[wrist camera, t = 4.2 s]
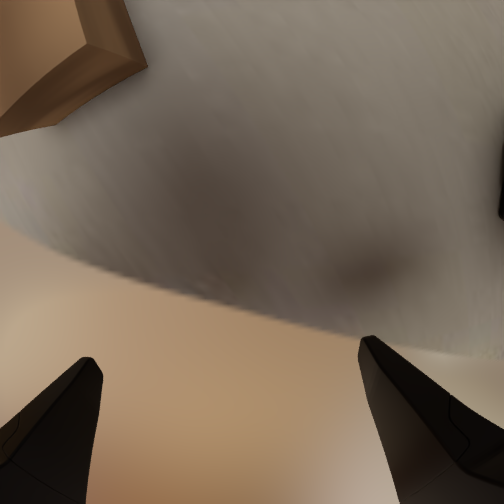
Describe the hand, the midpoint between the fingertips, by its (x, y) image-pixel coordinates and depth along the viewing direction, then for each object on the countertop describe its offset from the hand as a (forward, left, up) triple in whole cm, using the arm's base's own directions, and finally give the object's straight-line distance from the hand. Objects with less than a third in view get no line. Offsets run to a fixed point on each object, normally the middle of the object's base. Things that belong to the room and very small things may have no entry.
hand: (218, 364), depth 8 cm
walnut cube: (+5, -11, -6) cm, 14 cm away
